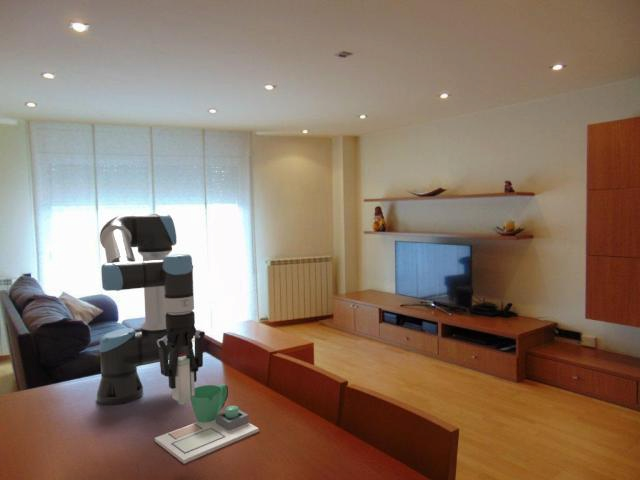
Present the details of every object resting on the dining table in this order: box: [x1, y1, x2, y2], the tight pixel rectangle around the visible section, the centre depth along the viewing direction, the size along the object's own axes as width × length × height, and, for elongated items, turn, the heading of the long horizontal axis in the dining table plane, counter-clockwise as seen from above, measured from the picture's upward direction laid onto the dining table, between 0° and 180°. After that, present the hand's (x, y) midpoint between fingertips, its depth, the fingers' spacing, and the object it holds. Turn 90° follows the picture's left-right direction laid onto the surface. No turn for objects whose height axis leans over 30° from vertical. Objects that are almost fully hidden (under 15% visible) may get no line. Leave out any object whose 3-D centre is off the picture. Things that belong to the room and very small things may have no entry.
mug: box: [190, 383, 229, 422], centre depth 146 cm, size 15×10×10 cm
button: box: [224, 405, 240, 420], centre depth 140 cm, size 4×4×3 cm
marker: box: [176, 356, 191, 405], centre depth 126 cm, size 4×4×12 cm
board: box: [154, 409, 260, 464], centre depth 134 cm, size 17×24×4 cm
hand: (183, 396), depth 126 cm, fingers closed on marker, 4 cm apart
